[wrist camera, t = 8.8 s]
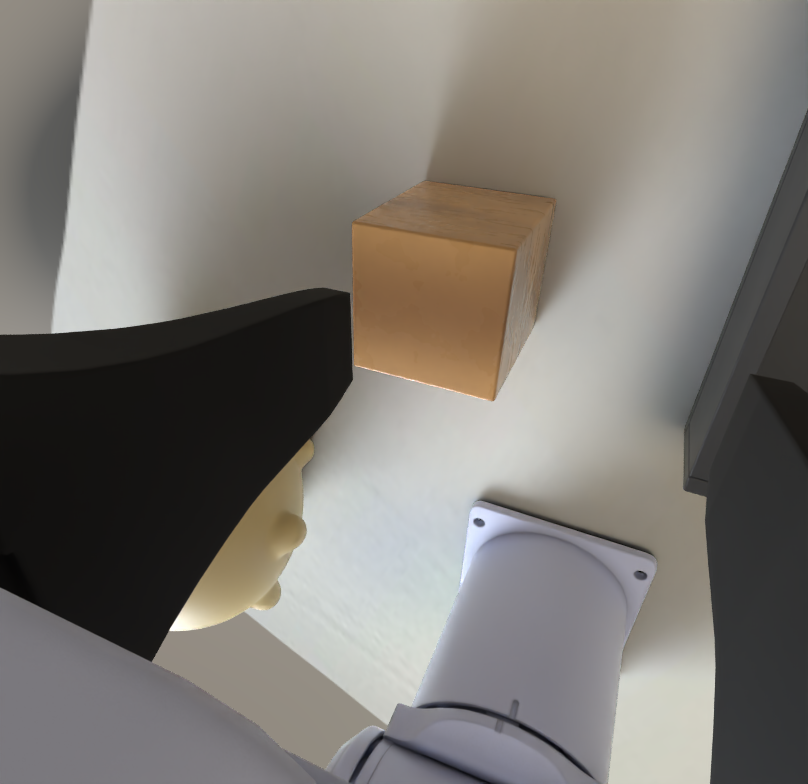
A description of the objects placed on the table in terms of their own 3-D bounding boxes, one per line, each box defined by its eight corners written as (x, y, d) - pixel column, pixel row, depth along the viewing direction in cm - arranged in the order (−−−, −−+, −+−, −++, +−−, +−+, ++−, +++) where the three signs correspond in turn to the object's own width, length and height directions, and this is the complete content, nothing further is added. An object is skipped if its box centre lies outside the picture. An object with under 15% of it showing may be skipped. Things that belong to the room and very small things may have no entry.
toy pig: (309, 342, 30) (78, 316, 25) (362, 539, 22) (41, 555, 17) (267, 462, 36) (73, 459, 31) (298, 651, 28) (45, 687, 23)
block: (534, 327, 21) (494, 403, 17) (416, 302, 22) (352, 366, 18) (557, 198, 18) (517, 249, 14) (423, 179, 20) (350, 221, 15)
